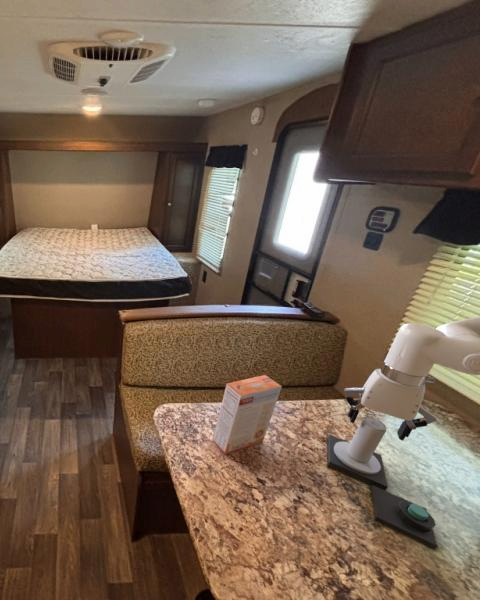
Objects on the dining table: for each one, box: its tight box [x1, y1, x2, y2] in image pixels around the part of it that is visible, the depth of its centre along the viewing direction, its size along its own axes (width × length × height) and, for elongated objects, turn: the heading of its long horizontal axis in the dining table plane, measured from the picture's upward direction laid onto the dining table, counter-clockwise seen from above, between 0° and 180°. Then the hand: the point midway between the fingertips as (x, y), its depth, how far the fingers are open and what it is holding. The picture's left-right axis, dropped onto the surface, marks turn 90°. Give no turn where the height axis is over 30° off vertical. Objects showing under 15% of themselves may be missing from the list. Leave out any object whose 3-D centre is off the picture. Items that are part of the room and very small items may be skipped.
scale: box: [326, 434, 389, 491], centre depth 87 cm, size 12×12×3 cm
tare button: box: [407, 503, 429, 521], centre depth 72 cm, size 3×3×2 cm
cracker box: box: [212, 374, 283, 455], centre depth 89 cm, size 14×6×21 cm, turn 108°
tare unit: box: [369, 485, 438, 550], centre depth 74 cm, size 10×10×3 cm
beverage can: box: [347, 416, 388, 463], centre depth 84 cm, size 5×5×12 cm
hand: (374, 427), depth 82 cm, fingers open, 9 cm apart
